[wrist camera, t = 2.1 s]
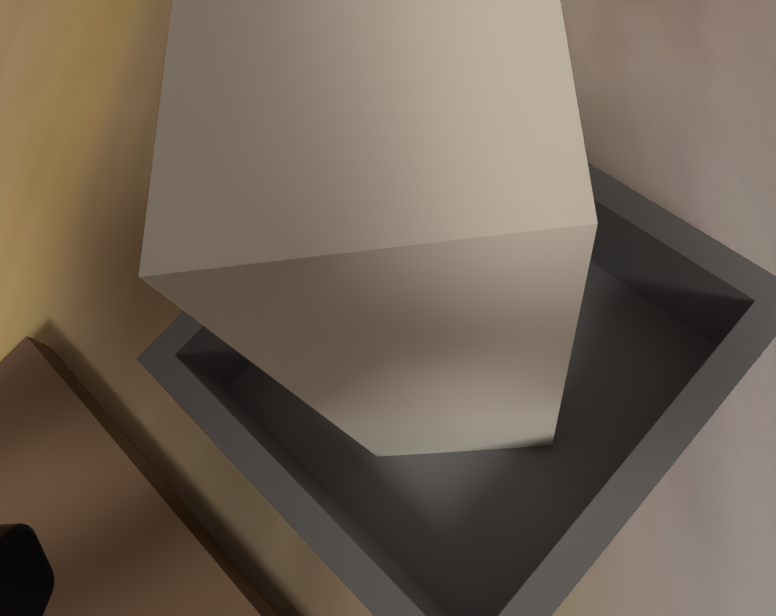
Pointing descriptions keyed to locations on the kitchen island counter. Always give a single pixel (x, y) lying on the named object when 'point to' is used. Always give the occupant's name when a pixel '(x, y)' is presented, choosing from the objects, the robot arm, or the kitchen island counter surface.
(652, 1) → the kitchen island counter surface
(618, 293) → the tub
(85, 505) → the board
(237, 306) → the carton
